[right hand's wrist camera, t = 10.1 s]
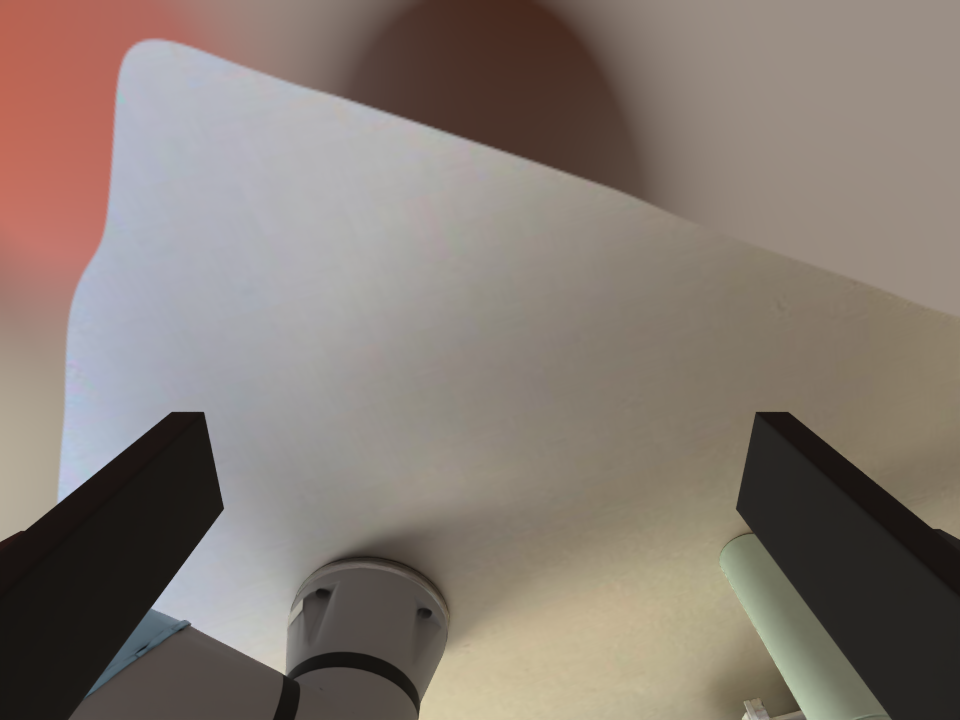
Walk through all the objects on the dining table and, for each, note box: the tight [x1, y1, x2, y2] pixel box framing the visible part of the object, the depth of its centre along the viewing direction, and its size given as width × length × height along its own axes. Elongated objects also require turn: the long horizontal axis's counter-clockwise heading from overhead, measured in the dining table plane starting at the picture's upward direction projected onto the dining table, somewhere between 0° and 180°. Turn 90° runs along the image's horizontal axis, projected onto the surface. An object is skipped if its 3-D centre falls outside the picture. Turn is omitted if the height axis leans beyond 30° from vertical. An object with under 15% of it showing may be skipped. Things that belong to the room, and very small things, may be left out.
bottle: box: [720, 534, 892, 720], centre depth 38 cm, size 5×5×22 cm
